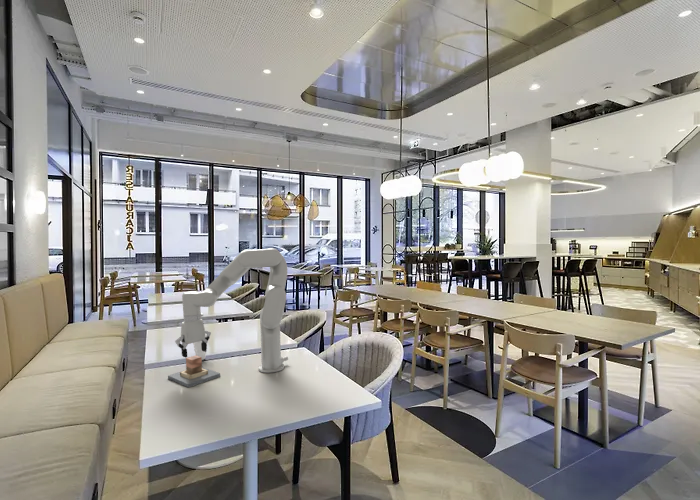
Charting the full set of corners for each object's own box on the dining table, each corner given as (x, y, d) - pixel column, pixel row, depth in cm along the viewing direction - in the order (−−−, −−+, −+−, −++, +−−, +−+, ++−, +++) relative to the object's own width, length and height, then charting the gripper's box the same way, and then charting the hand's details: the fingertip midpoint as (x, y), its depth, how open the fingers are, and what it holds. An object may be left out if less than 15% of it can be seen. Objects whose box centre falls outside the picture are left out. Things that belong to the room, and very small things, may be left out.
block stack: (196, 371, 182) (195, 355, 182) (202, 373, 179) (201, 357, 179) (186, 374, 179) (185, 358, 178) (192, 377, 175) (191, 360, 175)
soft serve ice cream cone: (189, 360, 204) (188, 331, 204) (200, 355, 212) (199, 327, 211) (201, 362, 201) (200, 332, 200) (212, 357, 209) (211, 328, 208)
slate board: (199, 368, 191) (199, 362, 191) (220, 376, 180) (220, 370, 180) (168, 378, 178) (167, 372, 178) (188, 387, 167) (187, 380, 167)
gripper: (204, 313, 187) (207, 347, 188) (170, 321, 173) (172, 357, 174) (213, 315, 182) (215, 350, 183) (178, 322, 169) (181, 360, 170)
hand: (194, 353), depth 179 cm, fingers open, 9 cm apart
